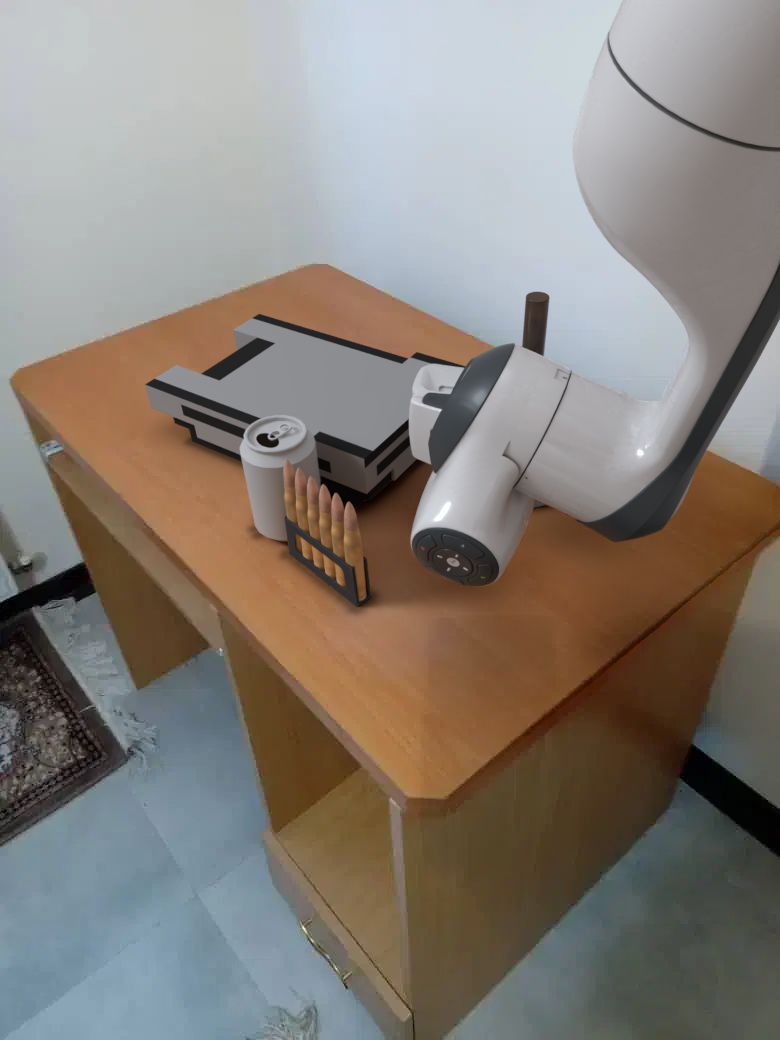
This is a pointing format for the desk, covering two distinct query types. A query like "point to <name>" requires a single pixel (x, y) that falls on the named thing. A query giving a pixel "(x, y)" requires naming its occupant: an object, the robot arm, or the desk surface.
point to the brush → (535, 322)
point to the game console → (304, 401)
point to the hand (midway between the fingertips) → (532, 366)
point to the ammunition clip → (325, 536)
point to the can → (275, 467)
